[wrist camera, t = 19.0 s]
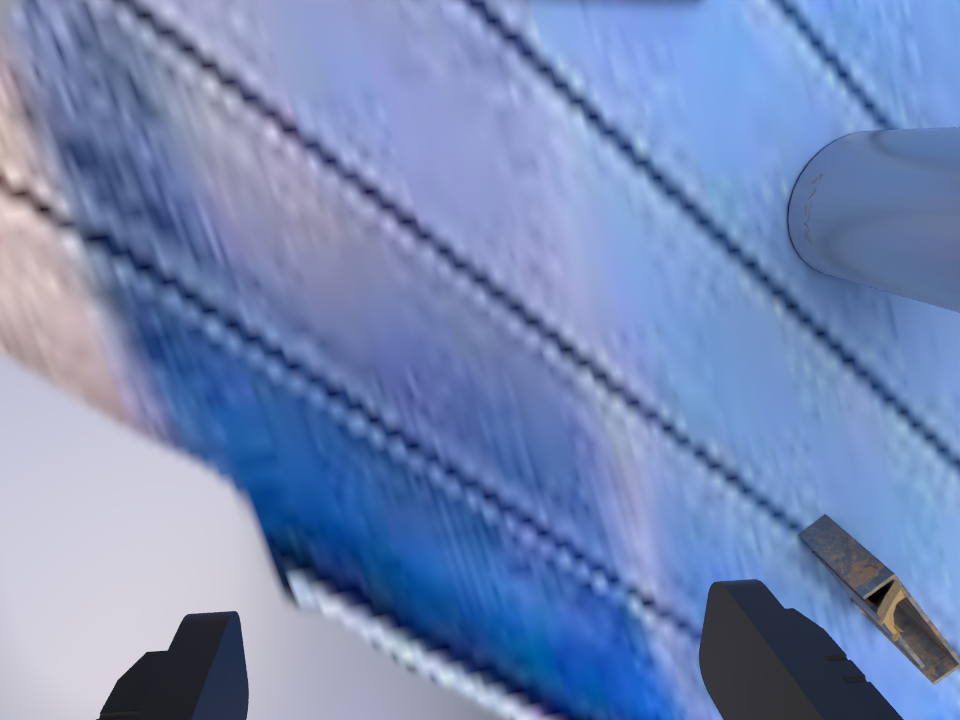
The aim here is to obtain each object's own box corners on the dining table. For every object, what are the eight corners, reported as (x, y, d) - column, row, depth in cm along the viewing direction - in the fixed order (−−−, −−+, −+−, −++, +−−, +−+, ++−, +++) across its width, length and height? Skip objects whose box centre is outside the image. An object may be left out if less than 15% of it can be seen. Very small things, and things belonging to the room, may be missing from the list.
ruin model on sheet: (790, 535, 49) (879, 622, 40) (821, 511, 49) (918, 594, 40) (857, 614, 53) (952, 712, 43) (886, 593, 52) (989, 687, 43)
